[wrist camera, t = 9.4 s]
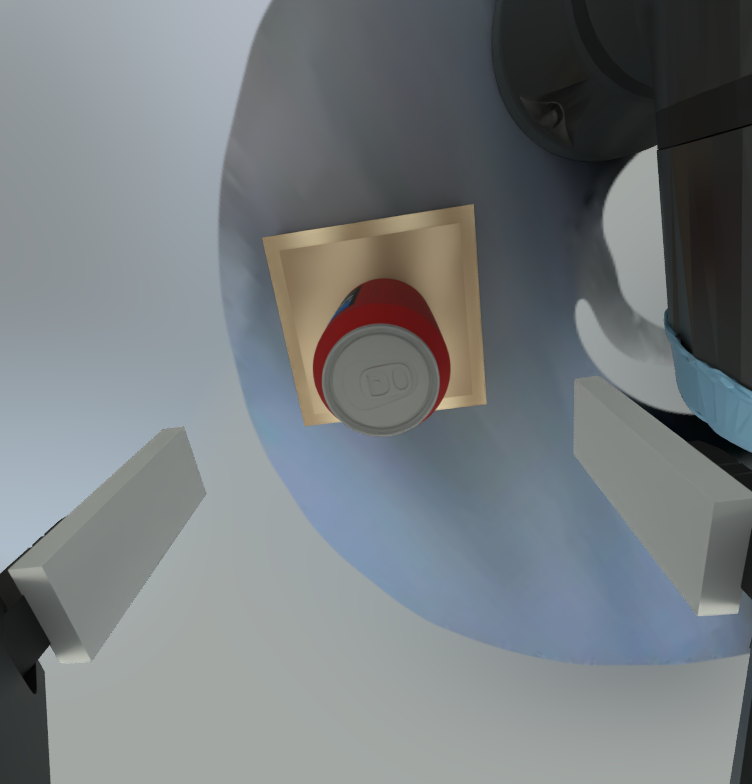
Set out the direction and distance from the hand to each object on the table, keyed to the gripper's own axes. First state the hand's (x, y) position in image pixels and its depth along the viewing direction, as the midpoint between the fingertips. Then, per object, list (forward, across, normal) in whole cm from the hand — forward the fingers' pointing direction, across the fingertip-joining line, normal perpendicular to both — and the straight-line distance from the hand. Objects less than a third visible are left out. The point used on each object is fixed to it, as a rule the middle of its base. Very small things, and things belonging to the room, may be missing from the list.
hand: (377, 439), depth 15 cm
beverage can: (+18, 0, 0) cm, 18 cm away
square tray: (+22, 0, 0) cm, 22 cm away
